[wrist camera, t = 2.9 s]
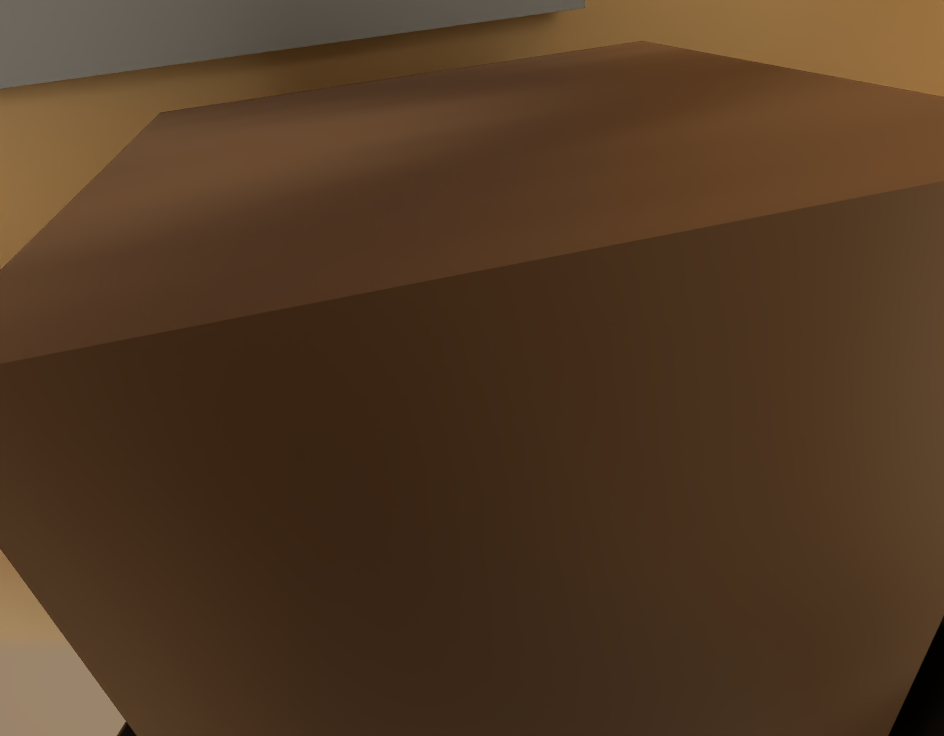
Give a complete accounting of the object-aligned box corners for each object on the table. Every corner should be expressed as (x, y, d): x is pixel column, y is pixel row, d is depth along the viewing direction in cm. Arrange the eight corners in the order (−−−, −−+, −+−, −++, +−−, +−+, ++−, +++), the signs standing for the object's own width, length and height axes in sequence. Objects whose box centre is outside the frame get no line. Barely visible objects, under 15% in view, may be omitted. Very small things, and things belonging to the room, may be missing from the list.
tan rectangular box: (642, 40, 7) (1162, 140, 3) (622, 621, 12) (787, 951, 8) (160, 112, 6) (-117, 386, 2) (362, 694, 12) (398, 1095, 7)
